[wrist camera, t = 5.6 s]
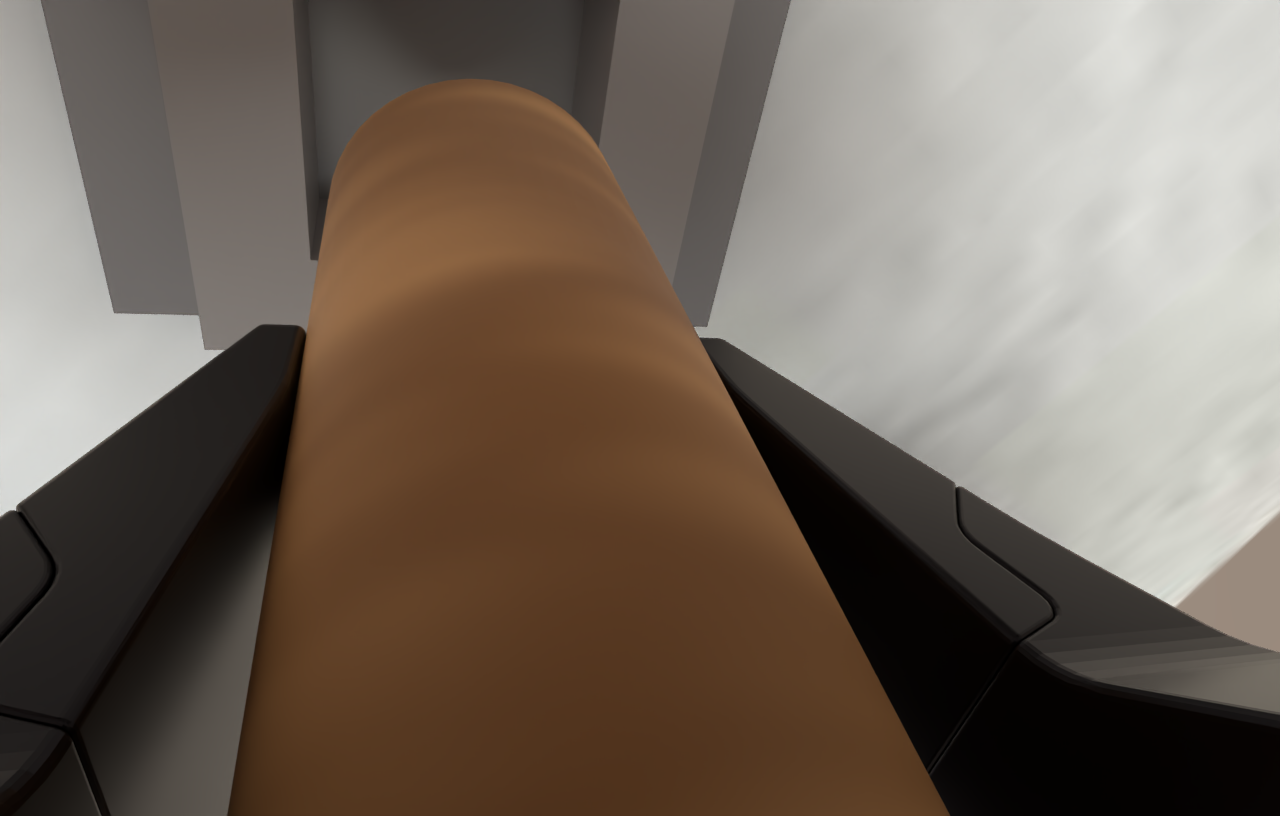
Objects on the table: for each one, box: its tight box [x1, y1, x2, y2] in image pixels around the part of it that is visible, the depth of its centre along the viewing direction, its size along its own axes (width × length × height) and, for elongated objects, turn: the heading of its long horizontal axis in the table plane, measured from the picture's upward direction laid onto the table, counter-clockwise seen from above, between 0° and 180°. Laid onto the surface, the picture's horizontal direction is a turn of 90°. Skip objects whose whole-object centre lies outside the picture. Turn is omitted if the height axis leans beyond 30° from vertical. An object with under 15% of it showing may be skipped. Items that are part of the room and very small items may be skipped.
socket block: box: [41, 0, 791, 350], centre depth 17 cm, size 15×12×4 cm
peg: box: [227, 79, 950, 816], centre depth 8 cm, size 4×4×10 cm
